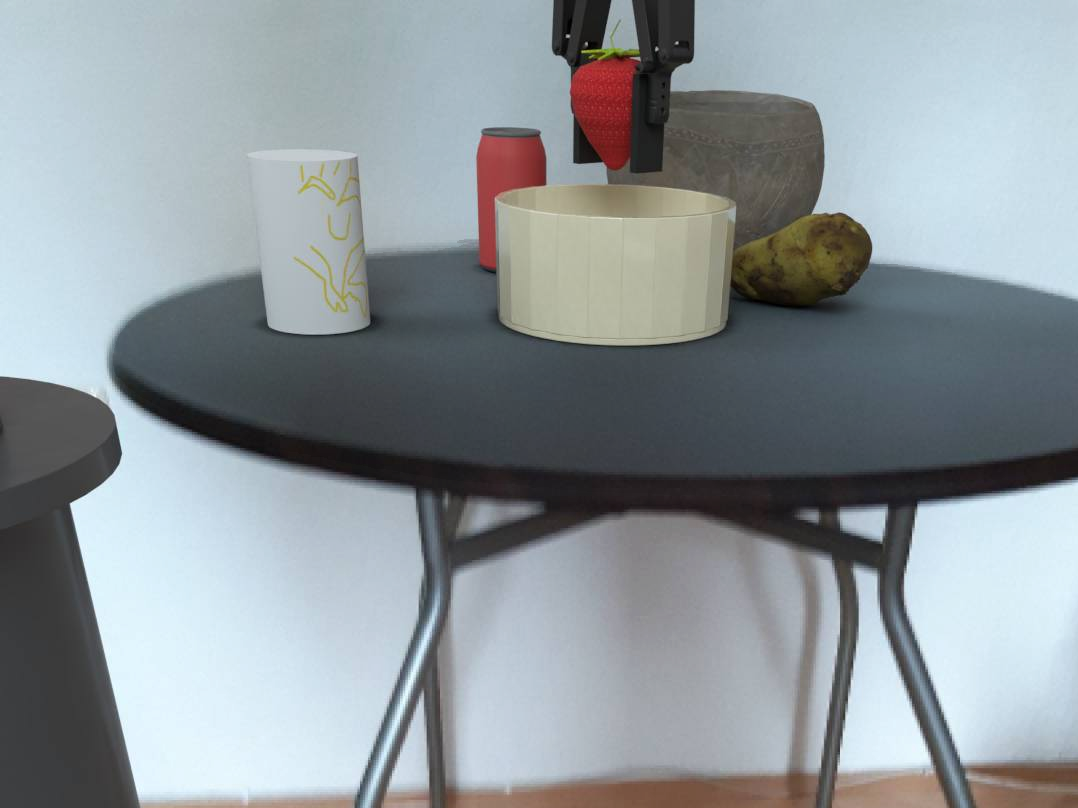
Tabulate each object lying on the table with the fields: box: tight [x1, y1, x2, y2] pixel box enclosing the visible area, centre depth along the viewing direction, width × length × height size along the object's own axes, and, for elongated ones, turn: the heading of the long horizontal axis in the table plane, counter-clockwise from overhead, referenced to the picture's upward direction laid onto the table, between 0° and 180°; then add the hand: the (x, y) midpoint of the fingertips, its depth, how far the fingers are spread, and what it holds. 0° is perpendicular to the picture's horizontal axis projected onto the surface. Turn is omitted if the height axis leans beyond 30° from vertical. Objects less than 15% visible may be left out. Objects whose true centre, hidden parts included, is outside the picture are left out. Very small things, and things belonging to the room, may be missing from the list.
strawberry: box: [569, 19, 641, 171], centre depth 91 cm, size 6×8×10 cm
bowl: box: [606, 89, 826, 252], centre depth 116 cm, size 21×21×15 cm
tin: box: [495, 183, 736, 347], centre depth 98 cm, size 19×19×9 cm
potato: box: [730, 211, 873, 307], centre depth 103 cm, size 8×13×8 cm, turn 31°
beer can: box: [475, 126, 547, 274], centre depth 114 cm, size 7×7×12 cm
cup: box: [246, 148, 371, 336], centre depth 93 cm, size 8×8×12 cm
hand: (616, 166), depth 94 cm, fingers closed on strawberry, 6 cm apart
